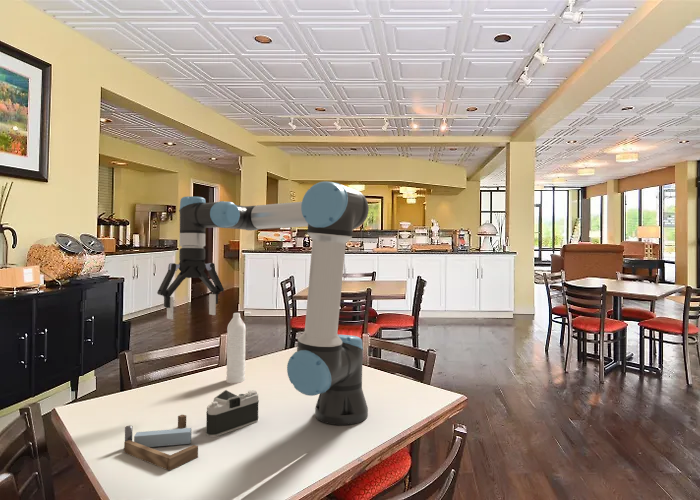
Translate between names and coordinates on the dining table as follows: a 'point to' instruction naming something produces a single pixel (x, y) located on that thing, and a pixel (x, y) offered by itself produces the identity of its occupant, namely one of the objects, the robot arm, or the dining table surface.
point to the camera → (231, 412)
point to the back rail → (146, 454)
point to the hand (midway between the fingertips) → (191, 316)
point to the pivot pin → (128, 433)
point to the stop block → (182, 421)
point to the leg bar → (163, 437)
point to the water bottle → (236, 349)
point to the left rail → (182, 457)
